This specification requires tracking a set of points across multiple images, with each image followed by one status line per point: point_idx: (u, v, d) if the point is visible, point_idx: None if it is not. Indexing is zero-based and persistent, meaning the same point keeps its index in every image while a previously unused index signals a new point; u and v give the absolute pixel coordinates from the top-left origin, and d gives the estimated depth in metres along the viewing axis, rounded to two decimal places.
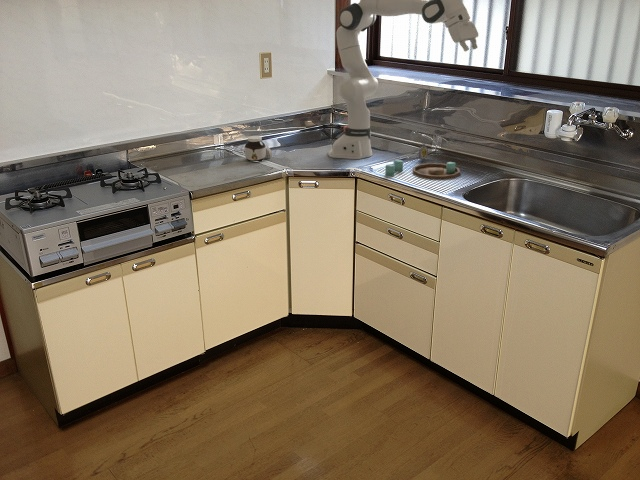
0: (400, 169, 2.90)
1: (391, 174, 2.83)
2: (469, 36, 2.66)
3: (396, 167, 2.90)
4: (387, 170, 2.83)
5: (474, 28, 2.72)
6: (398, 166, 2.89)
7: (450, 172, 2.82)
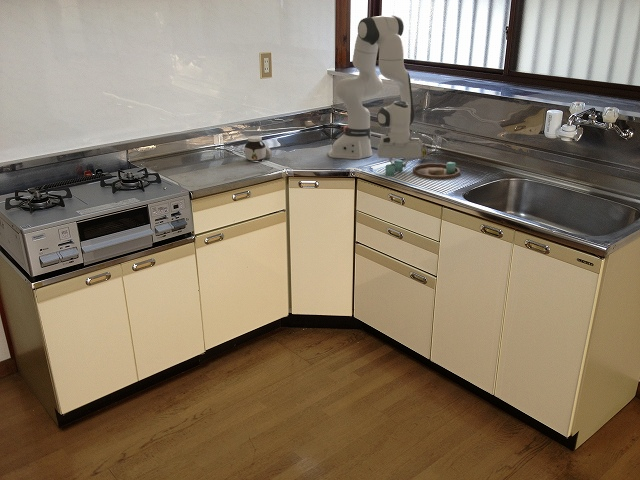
0: (400, 169, 2.90)
1: (391, 174, 2.83)
2: (396, 156, 2.88)
3: (396, 167, 2.90)
4: (387, 170, 2.83)
5: (416, 150, 2.86)
6: (398, 166, 2.89)
7: (450, 172, 2.82)
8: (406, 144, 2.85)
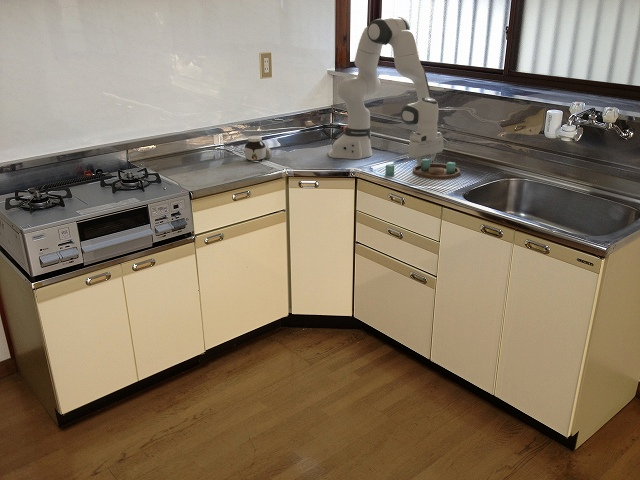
0: (429, 167, 2.89)
1: (391, 174, 2.83)
2: (427, 153, 2.85)
3: (426, 166, 2.87)
4: (387, 170, 2.83)
5: (440, 144, 2.89)
6: (428, 165, 2.88)
7: (450, 172, 2.82)
8: (434, 139, 2.85)
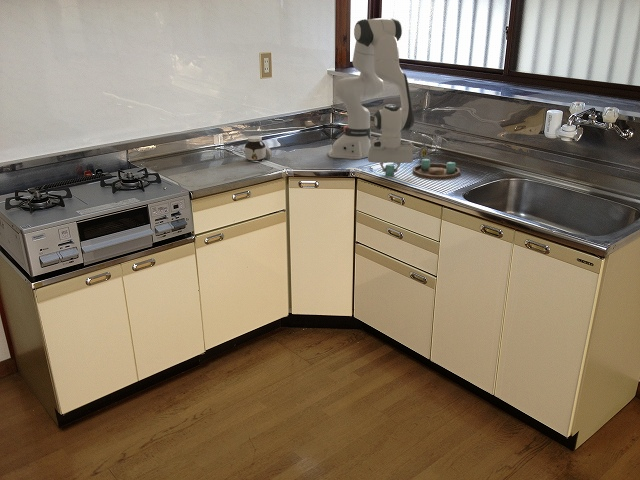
0: (429, 167, 2.89)
1: (391, 174, 2.83)
2: (388, 161, 2.81)
3: (426, 166, 2.87)
4: (387, 170, 2.83)
5: (407, 155, 2.79)
6: (428, 165, 2.88)
7: (450, 172, 2.82)
8: (397, 148, 2.78)
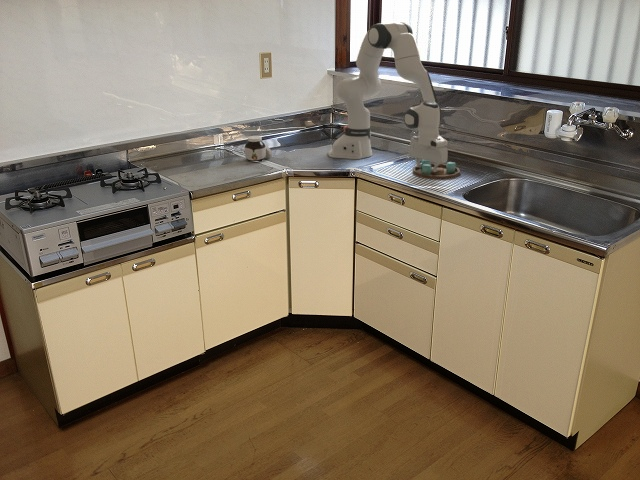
0: None
1: None
2: None
3: None
4: None
5: None
6: None
7: (450, 172, 2.82)
8: None
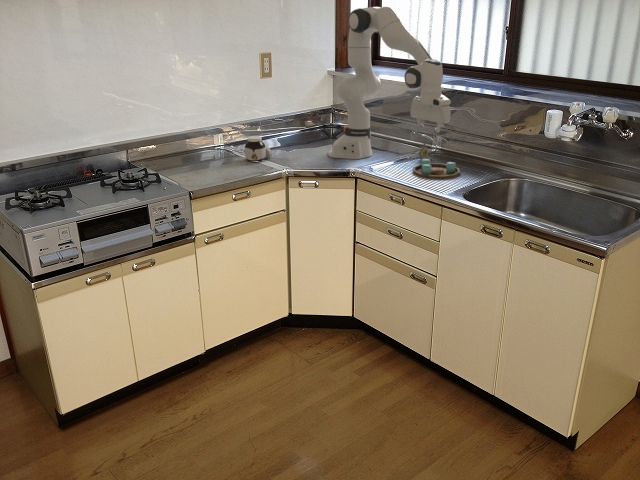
0: None
1: None
2: None
3: None
4: None
5: None
6: None
7: (450, 172, 2.82)
8: None
